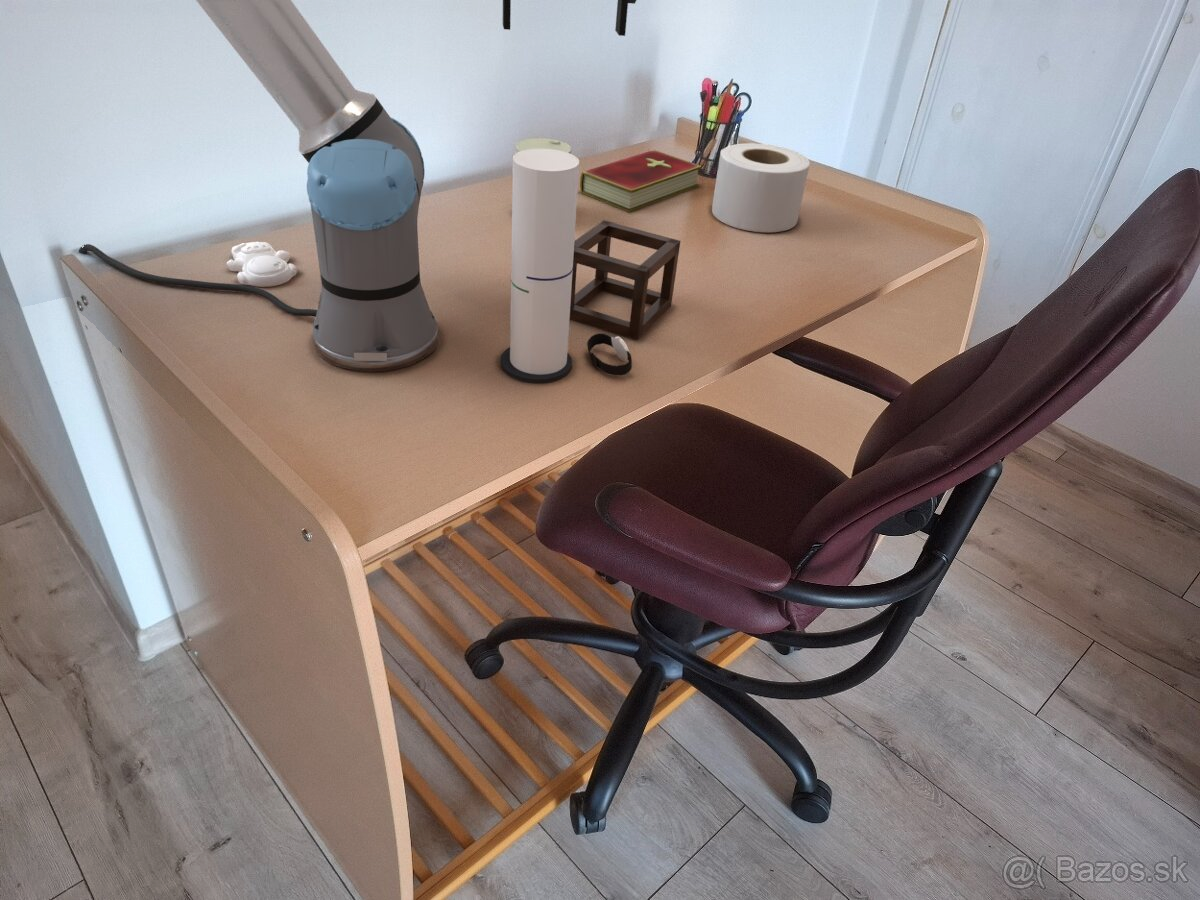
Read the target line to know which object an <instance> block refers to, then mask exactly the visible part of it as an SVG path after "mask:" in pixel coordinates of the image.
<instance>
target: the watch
mask: <svg viewBox="0 0 1200 900" xmlns="http://www.w3.org/2000/svg"><path fill="white" fill-rule="evenodd" d="M599 345H606V346H609V347H611V348H613V350H614V352H615V353H616V355H617V357H618V358H619V359H620V360H622V361H624V362H626V361H628V362H627V363H624V364H619V365H615V364H614V365H613V364H609V363H606V362H604V361H602V360H601V359H600V358H598V357H597V356H596V355H595V354H594V352H593V351H591V350H592V349H593V348H594V347H596V346H599ZM586 346H587V352H588V358H589V360H590V361H591V363H592V365H593V366H594V367H595V368H596V369H599V370H601V371H602V372H603V373H605V374H607V375H610V376H623V375H627V374H628V373H630V372H631V370H632V369H633V360H632V354H631V353H630V350H629V347H628V345H627V344H626V342H625V340H624V339H623V338H622V337H620V336H615V337H613V336H611V335H609V334H606V333H602V332H601V333H600V332H599V333H596V334H593V335H591V336H590V337H589V338H588V340H587V341H586Z"/></svg>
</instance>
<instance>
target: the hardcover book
mask: <svg viewBox="0 0 1200 900" xmlns="http://www.w3.org/2000/svg"><path fill="white" fill-rule="evenodd" d="M700 169H702V165H700V164H697V163H694V162H691V161H688V160H685V159H683V158H680V157H676V156H674V155H671V154H668V153H665V152H662V151H659V150H656V149H652V150H649V151H645V152H642V153H638V154H636V155H632V156H629V157H625V158H623V159H620V160H616V161H613V162H611V163H606V164H602V165H600V166H597V167H593V168H589V169H587V170H584V171H582V172H581V174H580V178H579V179H580V180H579V190H580V194H582V195H585V196H587V197H590V198H592V199H595V200H597V201H600V202H602V203H605V204H608V205H610V206H613V207H615V208H617V209H620V210H622V211H625V212H627V213H632V212H635V211H637V210H640V209H643V208H646V207H649V206H651V205H653V204H656V203H659V202H661V201H663V200H667V199H669V198H672V197H675V196H678V195H680V194H683V193H685V192H688V191H691V190H693V189H696V188H699V187H700V184H698V183H697V181H698V177H699V176H698V175H699V170H700Z"/></svg>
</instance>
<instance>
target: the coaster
mask: <svg viewBox="0 0 1200 900" xmlns="http://www.w3.org/2000/svg"><path fill="white" fill-rule="evenodd" d="M499 361H500V362H499V363H500V367H501V369H502V371H503V372H504V373H505V374H506V375H507V376H509V377H511V378H513V379H514V380H518V381H520V382H525V383H531V384H545V383H552V382H555V381H559V380H561V379H563V378H565V377H566V376H568V374H569V373H570V372H571V370H572V368H573V358H572V356H571V355H570V353H569V352H568V351H567V363H566V365H565V367H563V368H562V369H561V370H559V371H557V372H554V373H550V374H542V375H540V374H530V373H526V372H523V371H520V370H519V369H517V368H515V367H514V366H513V365H512V363H511V361H510V346H508V347H507V348H506V349H505V350H504V351H503V352H502V353H501V354H500V359H499Z"/></svg>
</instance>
